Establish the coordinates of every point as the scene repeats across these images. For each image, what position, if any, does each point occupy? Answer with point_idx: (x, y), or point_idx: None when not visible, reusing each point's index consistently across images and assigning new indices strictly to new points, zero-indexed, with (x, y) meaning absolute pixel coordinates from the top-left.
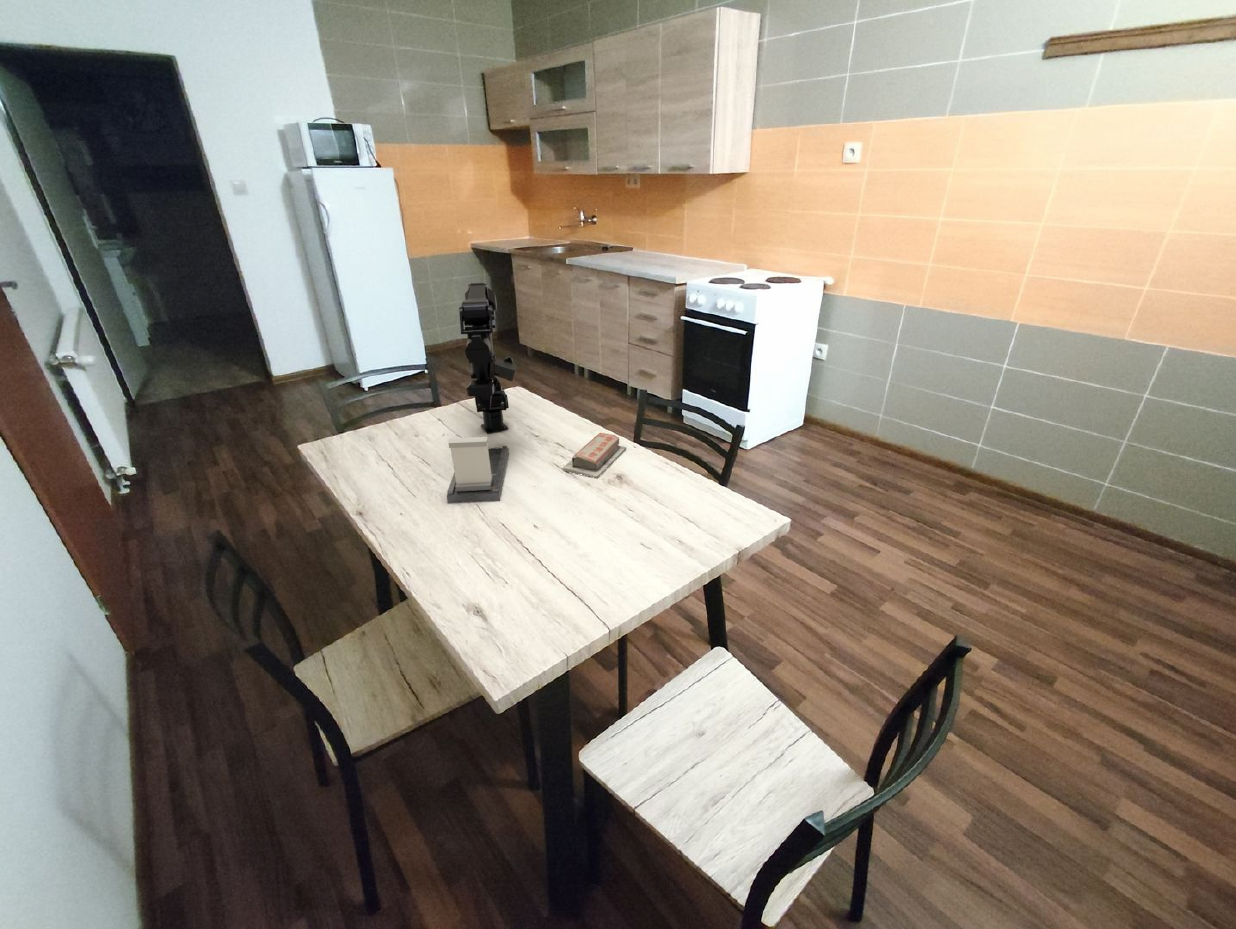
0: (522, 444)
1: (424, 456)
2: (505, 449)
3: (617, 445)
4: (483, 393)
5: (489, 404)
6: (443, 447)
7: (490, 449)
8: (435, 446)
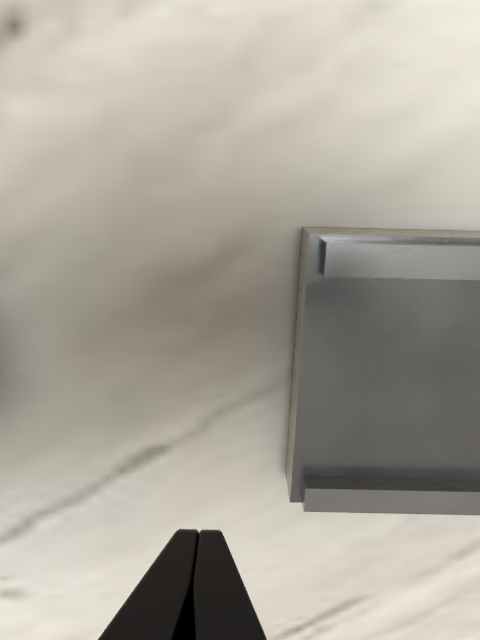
0: (155, 139)
1: None
2: (385, 251)
3: None
4: None
5: (252, 606)
6: None
7: (317, 353)
8: None
